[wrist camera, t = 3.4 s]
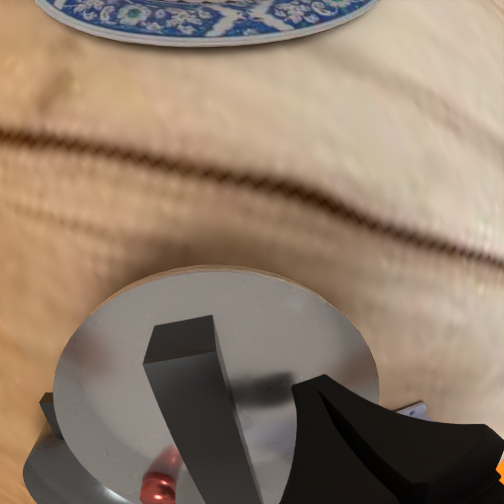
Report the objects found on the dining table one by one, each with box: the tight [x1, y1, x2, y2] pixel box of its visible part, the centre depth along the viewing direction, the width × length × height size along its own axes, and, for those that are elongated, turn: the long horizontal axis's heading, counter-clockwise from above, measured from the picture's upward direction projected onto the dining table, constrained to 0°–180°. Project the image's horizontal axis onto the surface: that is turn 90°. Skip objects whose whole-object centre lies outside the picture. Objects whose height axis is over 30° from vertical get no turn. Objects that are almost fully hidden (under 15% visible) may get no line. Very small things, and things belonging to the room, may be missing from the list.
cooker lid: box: [53, 265, 379, 504], centre depth 11 cm, size 16×14×4 cm
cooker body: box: [23, 392, 134, 504], centre depth 16 cm, size 16×18×5 cm
